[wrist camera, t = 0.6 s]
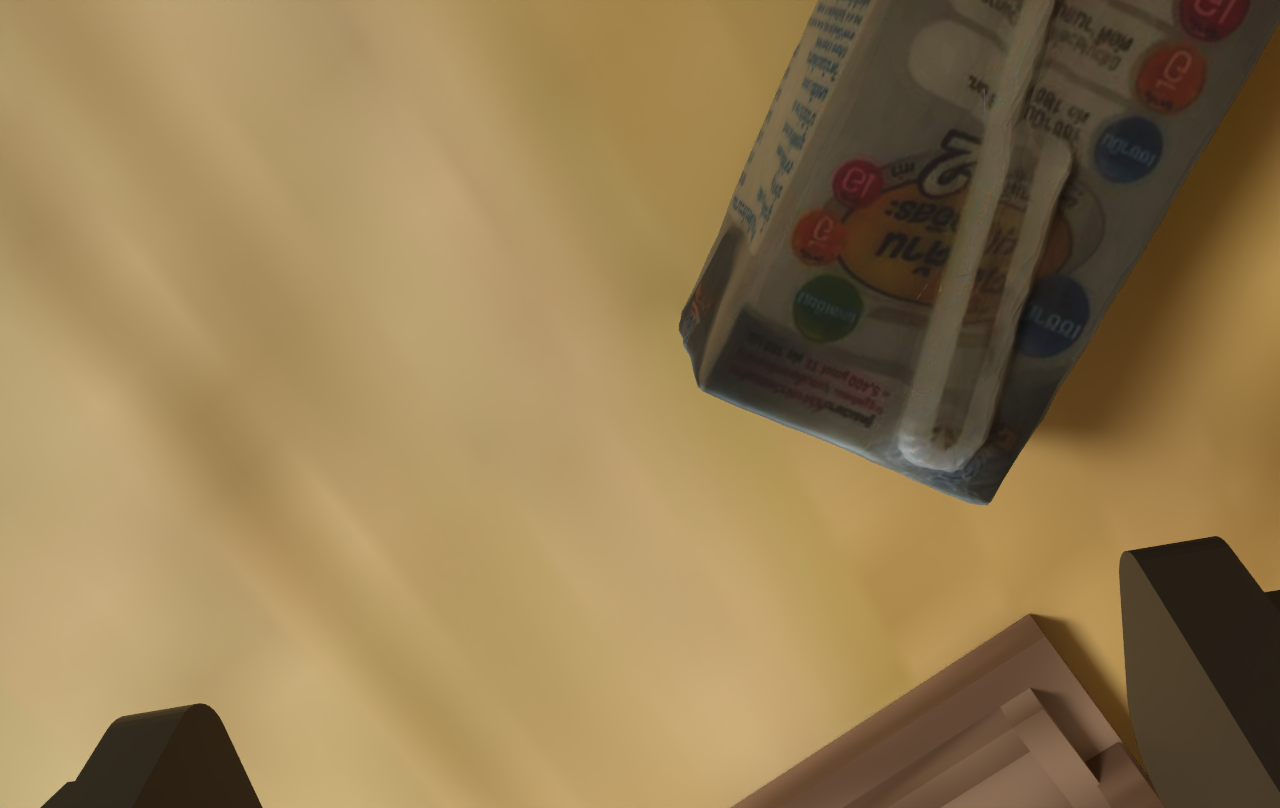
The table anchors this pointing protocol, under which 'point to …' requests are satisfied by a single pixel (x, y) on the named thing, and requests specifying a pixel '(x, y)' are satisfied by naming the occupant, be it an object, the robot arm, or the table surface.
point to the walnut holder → (976, 743)
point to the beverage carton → (955, 215)
